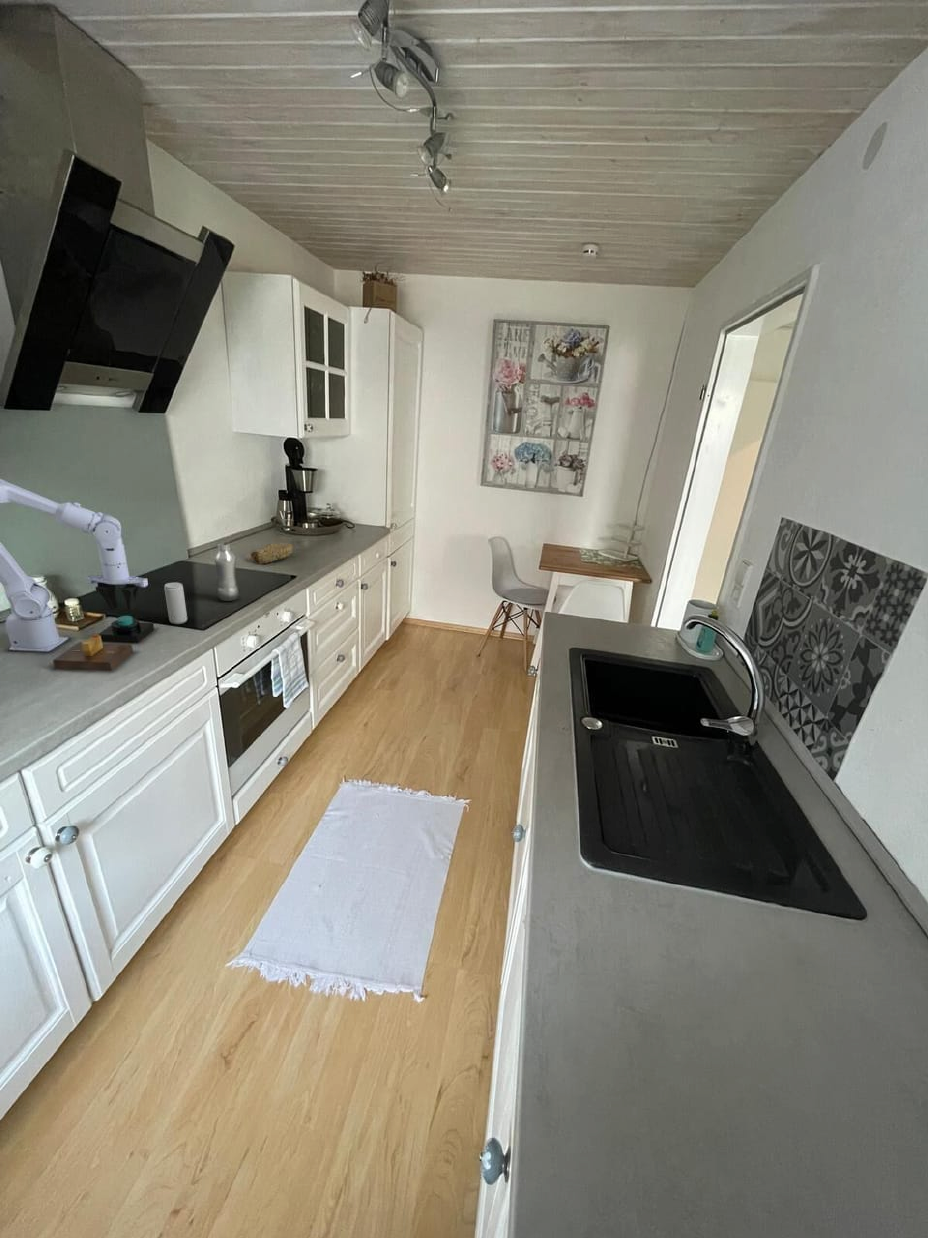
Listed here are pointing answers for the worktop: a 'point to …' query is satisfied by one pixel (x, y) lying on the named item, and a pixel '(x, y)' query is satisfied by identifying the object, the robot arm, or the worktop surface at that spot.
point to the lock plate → (93, 657)
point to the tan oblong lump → (272, 552)
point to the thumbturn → (92, 645)
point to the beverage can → (175, 603)
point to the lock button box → (127, 632)
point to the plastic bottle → (226, 573)
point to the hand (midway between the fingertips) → (122, 608)
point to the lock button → (124, 620)
